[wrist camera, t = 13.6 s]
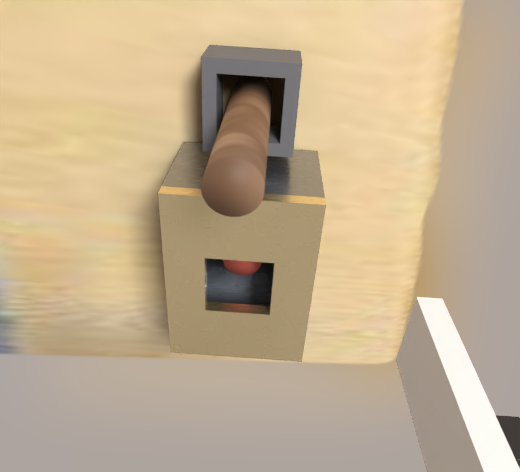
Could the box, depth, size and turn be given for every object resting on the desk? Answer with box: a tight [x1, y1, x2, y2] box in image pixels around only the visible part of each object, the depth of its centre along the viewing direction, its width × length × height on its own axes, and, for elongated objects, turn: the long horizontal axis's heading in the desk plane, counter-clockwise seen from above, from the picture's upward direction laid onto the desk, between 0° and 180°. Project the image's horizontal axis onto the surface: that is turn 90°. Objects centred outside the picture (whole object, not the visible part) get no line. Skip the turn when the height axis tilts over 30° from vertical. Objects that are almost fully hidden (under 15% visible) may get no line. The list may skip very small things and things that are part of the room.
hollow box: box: [158, 142, 326, 362], centre depth 37 cm, size 11×15×9 cm
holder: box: [201, 45, 302, 158], centre depth 33 cm, size 7×7×4 cm
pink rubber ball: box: [223, 260, 262, 275], centre depth 38 cm, size 3×3×3 cm
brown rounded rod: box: [201, 75, 272, 217], centre depth 28 cm, size 3×3×16 cm
